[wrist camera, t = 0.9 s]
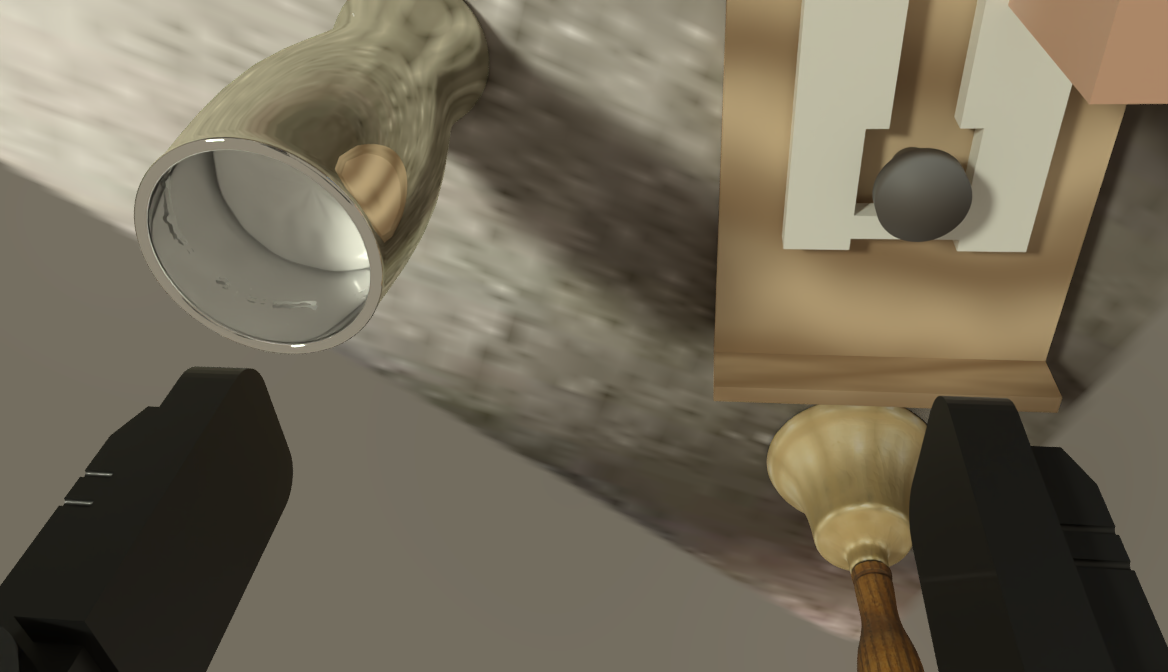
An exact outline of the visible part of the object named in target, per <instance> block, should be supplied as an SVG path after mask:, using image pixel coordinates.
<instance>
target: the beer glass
mask: <svg viewBox="0 0 1168 672" xmlns="http://www.w3.org/2000/svg"><path fill="white" fill-rule="evenodd" d="M488 74H489V51H488V45H487V41H486V38H485V35H484V32H483V30H482V27H481V25H480V23H479V21H478V20H477V18H476V16H475V15H474V13H473V12H472V10H471V9H470V8H469V7H468V5H467V4H466V3H465V2H464V1H463V0H347V1H346V2H345V4H344V5H343V7H342V9H341V11H340V13H339V15H338V17H337V19H336V22H335V24H334V27H333V29H331V30H329V31H327V32H324V33H322V34H319V35H316V36H314V37H311V38H308V39H306V40H304V41H301V42H299V43H296V44H294V45H291V46H289V47H287V48H284V49H282V50H280V51H279V52H277V53H275V54H273V55H271V56H269V57H267V58H265V59H263V60H262V61H260V62H258V63H256V64H254V65H253V66H252V67H250V68H249V69H248V70H246V71H245V72H244V73H242V74H241V75H240V76H239V77H237V78H236V79H235V80H233V81H232V82H231V83H229V84H228V85H227V86H226V87H225V88H223V89H222V90H221V91H220V92H219V93H218V94H217V95H216V96H215V97H214V98H213V99H212V100H211V101H210V102H209V103H208V104H207V105H206V106H205V107H204V108H203V109H202V110H201V111H200V112H199V113H198V114H197V115H196V117H195V118H194V119H193V120H192V121H191V122H190V123H189V125H188V126H187V127H186V128H185V129H184V130H183V131H182V133H181V134H180V135H179V136H178V137H177V139H176V140H175V141H174V142H173V144H172V145H171V146H170V147H169V149H168V150H167V151H166V152H165V153H164V154H163V155H162V156H160V157H159V158H158V159H157V160H156V161H155V162H154V163H153V164H152V165H151V166H150V168H149V169H148V170H147V172H146V173H145V175H144V177H143V179H142V181H141V183H140V185H139V188H138V191H137V194H136V198H135V205H134V224H135V231H136V236H137V240H138V243H139V246H140V249H141V252H142V254H143V257H144V259H145V261H146V263H147V265H148V267H149V269H150V270H151V272H152V274H153V275H154V277H155V278H156V280H157V281H158V283H159V284H160V285H161V287H162V288H163V289H164V290H165V292H166V293H167V294H168V295H169V296H170V297H171V298H172V299H173V300H174V301H175V302H176V303H177V304H178V305H179V306H180V307H181V308H182V309H183V310H184V311H185V312H187V313H188V314H189V315H190V316H191V317H193V318H194V319H195V320H197V321H198V322H200V323H201V324H203V325H204V326H205V327H207V328H209V329H211V330H212V331H214V332H215V333H217V334H219V335H221V336H223V337H225V338H227V339H229V340H232V341H234V342H236V343H239V344H242V345H244V346H248V347H251V348H254V349H258V350H262V351H267V352H272V353H280V354H306V353H314V352H319V351H324V350H327V349H330V348H333V347H336V346H338V345H340V344H342V343H344V342H346V341H348V340H349V339H351V338H352V337H353V336H355V335H356V334H357V333H358V332H359V331H361V330H362V329H363V328H364V327H365V325H366V324H367V323H368V322H369V320H370V319H371V317H372V316H373V314H374V312H375V310H376V308H377V306H378V304H379V303H380V301H381V300H382V299H383V297H384V296H385V294H386V293H387V292H388V290H389V289H390V288H391V286H392V285H393V283H394V282H395V280H396V279H397V277H398V276H399V275H400V273H401V272H402V270H403V269H404V267H405V266H406V264H407V262H408V261H409V259H410V257H411V256H412V254H413V252H414V250H415V249H416V247H417V245H418V244H419V242H420V240H421V238H422V236H423V234H424V232H425V230H426V227H427V225H428V223H429V221H430V218H431V216H432V214H433V211H434V209H435V206H436V203H437V200H438V196H439V192H440V189H441V185H442V181H443V177H444V173H445V167H446V160H447V154H448V148H449V141H450V133H451V129H452V125H453V124H454V123H456V122H457V121H458V120H460V119H461V118H462V117H463V116H465V115H466V114H467V113H468V112H469V111H470V110H471V109H472V108H473V107H474V105H475V104H476V103H477V101H478V100H479V98H480V97H481V95H482V93H483V91H484V89H485V86H486V83H487V79H488Z"/></svg>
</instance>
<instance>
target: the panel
mask: <svg viewBox="0 0 1168 672" xmlns="http://www.w3.org/2000/svg"><path fill="white" fill-rule="evenodd" d="M908 4H909V0H802V6H801V17H800V29H799V41H798V53H797V64H796V76H795V88H794V100H793V112H792V123H791V135H790V147H789V159H788V170H787V182H786V194H785V206H784V217H783V229H782V241H783V249H815V250H849V247H850V240H851V239H898V238H896V237H894V236H892V235H891V234H889V233H888V232H887V231H886V230H885V229H884V228H883V227H882V225H881V224H880V222H879V220H878V217H877V214H876V210H875V207H874V203H856V196H857V189H858V182H859V175H860V167H861V160H862V153H863V146H864V138H865V131H866V129H889V127H890V120H891V114H892V107H893V101H894V94H895V88H896V81H897V75H898V68H899V62H900V56H901V49H902V43H903V36H904V30H905V23H906V17H907V10H908ZM1072 84H1073V85H1074V86H1075V88H1076V89H1077V90H1078V91H1079V92H1080V94H1081V95H1082V96H1083V97H1084V99H1085V100H1086V101H1087V102H1088V103H1089V104H1168V0H977V5H976V10H975V15H974V20H973V25H972V30H971V35H970V40H969V45H968V50H967V55H966V60H965V65H964V71H963V76H962V81H961V86H960V91H959V96H958V101H957V106H956V111H955V116H954V117H955V119H956V121H957V123H958V125H959V127H960V129H974V128H975V131H974V136H973V141H972V145H971V150H970V155H969V159H968V164H967V169H966V175H967V178H968V180H969V182H970V184H971V188H972V203H971V206H970V209H969V211H968V213H967V215H966V217H965V218H964V220H963V221H962V222H961V223H960V224H959V225H958V226H957V227H956V228H955V229H953V230H952V231H951V232H949V233H947V234H946V235H944V236H942V237H939V238H937V239H934V240H953V243H954V245H955V248H956V250H957V251H976V252H1026V250H1027V247H1028V243H1029V240H1030V236H1031V232H1032V229H1033V225H1034V221H1035V218H1036V214H1037V210H1038V207H1039V203H1040V200H1041V196H1042V192H1043V189H1044V185H1045V181H1046V178H1047V174H1048V171H1049V167H1050V163H1051V160H1052V156H1053V152H1054V149H1055V145H1056V141H1057V138H1058V134H1059V131H1060V127H1061V123H1062V120H1063V116H1064V112H1065V109H1066V105H1067V101H1068V98H1069V94H1070V91H1071V87H1072Z"/></svg>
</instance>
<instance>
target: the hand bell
mask: <svg viewBox="0 0 1168 672" xmlns="http://www.w3.org/2000/svg"><path fill="white" fill-rule="evenodd" d="M926 427H927V425H926V424H925V423H924V422H923V421H922V420H921V419H920V418H919V417H918V416H916V415H915V414H913V413H912V412H911V411H909V410H908V409H906V408H903V407H878V406H849V405H820V404H818V405H815V406H813V407H810V408H808V409H806V410H804V411H802V412H801V413H799V414H797V415H795V416H794V417H793V418H792V419H790V420H789V421H788V422H787V423H785V424H784V426H783V427H782V428H781V429H780V430H779V431H778V432H777V433H776V435H775V436H774V438H773V440H772V442H771V444H770V447H769V450H768V454H767V470H768V474H769V477H770V480H771V482H772V484H773V485H774V487H775V488H776V490H777V491H778V492H779V494H780V495H781V496H782V497H783V498H784V499H785V500H786V501H787V502H788V503H789V504H791V505H792V506H793V507H795V508H796V509H798V510H799V511H801V512H803V513H805V514H806V517H807V519H808V521H809V524H810V527H811V530H812V534H813V538H814V542H815V545H816V547H817V549H818V551H819V552H820V554H821V555H822V556H823V557H824V558H825V559H826V560H827V561H829V562H830V563H831V564H833V565H835V566H837V567H839V568H842V569H845V570H850V572H851V577H852V581H853V584H854V588H855V593H856V597H857V602H858V606H859V611H860V616H861V623H862V629H861V636H860V642H859V647H858V657H857V672H924V669H923V666H922V663H921V661H920V658H919V656H918V653H917V651H916V649H915V647H914V645H913V644H912V642H911V640H910V638H909V637H908V635H907V633H906V632H905V630H904V628H903V626H902V624H901V621H900V618H899V615H898V611H897V605H896V599H895V592H894V586H893V582H892V573H891V570H890V568H889V566H892V565H894V564H896V563H897V562H899V561H900V560H901V559H903V558H904V557H905V556H906V555H907V553H908V552H909V551H910V549H911V547H912V541H911V535H910V525H909V501H910V492H911V486H912V482H913V478H914V474H915V470H916V466H917V462H918V458H919V454H920V451H921V447H922V443H923V439H924V435H925V431H926Z"/></svg>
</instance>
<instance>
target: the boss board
mask: <svg viewBox="0 0 1168 672" xmlns="http://www.w3.org/2000/svg"><path fill="white" fill-rule="evenodd" d="M976 5H977V0H909V4H908V10H907V17H906V23H905V30H904V36H903V43H902V49H901V56H900V62H899V68H898V75H897V81H896V88H895V94H894V101H893V107H892V114H891V120H890V127H889V129H866V131H865V138H864V146H863V153H862V160H861V167H860V175H859V182H858V189H857V196H856V203H874V207H875V210H876V214H877V217H878V220H879V222H880V224H881V225H882V227H883V228H884V229H885V230H886V231H887V232H888V233H889V234H891V235H892V236H894V237H896V238H898V239H851V240H850V247H849V250H815V249H783V241H782V229H783V217H784V206H785V194H786V182H787V170H788V159H789V147H790V135H791V123H792V112H793V100H794V88H795V76H796V64H797V53H798V41H799V29H800V17H801V6H802V0H726V26H725V53H724V81H723V109H722V137H721V164H720V192H719V220H718V248H717V275H716V303H715V331H714V401H732V402H761V403H791V404H820V405H849V406H878V407H908V408H932V405H933V402H934V400H935V399H936V398H937V397H938V396H963V397H990V398H1008V399H1010V400H1011V401H1012V402H1013V403H1014V405H1015V406H1016V409H1017V411H1025V412H1054V413H1057V412H1058V409H1059V406H1060V403H1061V400H1062V396H1061V394H1060V392H1059V390H1058V387H1057V385H1056V383H1055V381H1054V379H1053V377H1052V374H1051V372H1050V370H1049V368H1048V366H1047V364H1046V358H1047V354H1048V351H1049V348H1050V345H1051V342H1052V339H1053V335H1054V332H1055V329H1056V326H1057V323H1058V320H1059V317H1060V313H1061V310H1062V307H1063V304H1064V301H1065V298H1066V294H1067V291H1068V288H1069V285H1070V282H1071V279H1072V276H1073V272H1074V269H1075V266H1076V263H1077V260H1078V257H1079V253H1080V250H1081V247H1082V244H1083V241H1084V238H1085V234H1086V231H1087V228H1088V225H1089V222H1090V219H1091V216H1092V212H1093V209H1094V206H1095V203H1096V200H1097V197H1098V193H1099V190H1100V187H1101V184H1102V181H1103V178H1104V175H1105V171H1106V168H1107V165H1108V162H1109V159H1110V156H1111V152H1112V149H1113V146H1114V143H1115V140H1116V137H1117V134H1118V130H1119V127H1120V124H1121V121H1122V118H1123V115H1124V111H1125V108H1126V105H1127V104H1089V103H1088V102H1087V101H1086V100H1085V99H1084V97H1083V96H1082V95H1081V94H1080V92H1079V91H1078V90H1077V89H1076V88H1075V86H1074V85H1073V84H1072V87H1071V91H1070V94H1069V98H1068V101H1067V105H1066V109H1065V112H1064V116H1063V120H1062V123H1061V127H1060V131H1059V134H1058V138H1057V141H1056V145H1055V149H1054V152H1053V156H1052V160H1051V163H1050V167H1049V171H1048V174H1047V178H1046V181H1045V185H1044V189H1043V192H1042V196H1041V200H1040V203H1039V207H1038V210H1037V214H1036V218H1035V221H1034V225H1033V229H1032V232H1031V236H1030V240H1029V243H1028V247H1027V250H1026V252H976V251H957V250H956V248H955V245H954V243H953V240H934V239H937V238H939V237H942V236H944V235H946V234H947V233H949V232H951V231H952V230H953V229H955V228H956V227H957V226H958V225H959V224H960V223H961V222H962V221H963V220H964V218H965V217H966V215H967V213H968V211H969V209H970V206H971V203H972V188H971V184H970V182H969V180H968V178H967V175H966V169H967V164H968V159H969V155H970V150H971V145H972V141H973V136H974V131H975V128H974V129H960V127H959V125H958V123H957V121H956V119H955V117H954V116H955V111H956V106H957V101H958V96H959V91H960V86H961V81H962V76H963V71H964V65H965V60H966V55H967V50H968V45H969V40H970V35H971V30H972V25H973V20H974V15H975V10H976Z"/></svg>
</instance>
